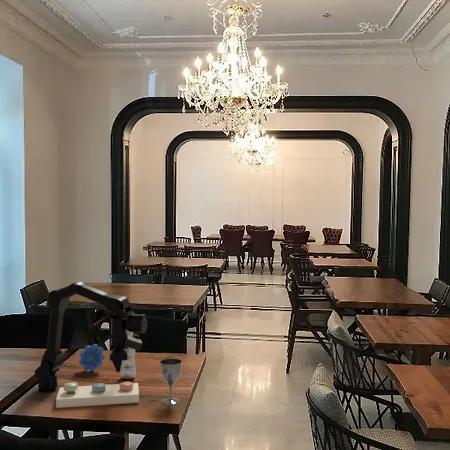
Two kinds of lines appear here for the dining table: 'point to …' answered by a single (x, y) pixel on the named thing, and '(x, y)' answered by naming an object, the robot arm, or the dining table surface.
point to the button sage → (70, 387)
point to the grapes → (91, 357)
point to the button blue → (98, 387)
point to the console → (97, 396)
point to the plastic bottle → (129, 362)
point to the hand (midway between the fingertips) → (118, 372)
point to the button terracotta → (126, 386)
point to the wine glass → (170, 376)
